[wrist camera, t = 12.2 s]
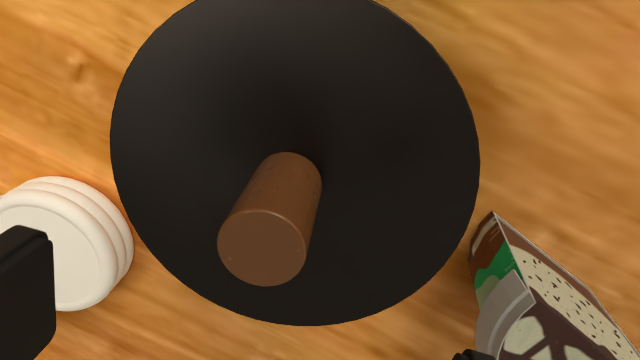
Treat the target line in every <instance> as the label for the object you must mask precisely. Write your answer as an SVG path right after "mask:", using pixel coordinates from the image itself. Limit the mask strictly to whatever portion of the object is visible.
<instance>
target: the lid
mask: <svg viewBox="0 0 640 360" xmlns="http://www.w3.org/2000/svg"><path fill="white" fill-rule="evenodd" d="M110 154H111V163H112V169H113V175H114V180H115V183H116V187H117V190H118V193H119V196H120V200H121V202H122V204H123V207H124V209H125V211H126V213H127V215H128V218H129V220H130V222H131V223H132V225H133V227H134V228H135V230H136V232H137V233H138V235H139V237H140V238H141V240H142V241H143V242H144V244H145V245H146V246H147V248H148V249H149V250H150V252H151V253H152V254H153V255H154V256H155V257H156V259H157V260H158V261H159V262H160V263H161V264H162V265H163V266H164V267H165V268H166V269H167V270H168V271H169V272H170V273H171V274H173V275H174V276H175V277H176V278H177V279H178V280H180V281H181V282H182V283H183V284H184V285H186V286H187V287H189V288H190V289H192V290H193V291H195V292H196V293H197V294H199V295H200V296H202V297H204V298H206V299H208V300H209V301H211V302H213V303H215V304H217V305H219V306H221V307H223V308H226V309H228V310H230V311H233V312H235V313H237V314H240V315H244V316H247V317H250V318H253V319H256V320H261V321H265V322H270V323H275V324H283V325H292V326H323V325H332V324H340V323H345V322H349V321H354V320H358V319H361V318H364V317H367V316H370V315H373V314H376V313H379V312H381V311H383V310H385V309H387V308H389V307H392V306H394V305H396V304H397V303H399V302H401V301H402V300H404V299H405V298H407V297H409V296H410V295H412V294H413V293H415V292H416V291H417V290H418V289H420V288H421V287H422V286H423V285H425V284H426V283H427V282H428V281H429V280H430V279H431V278H432V277H433V276H434V275H435V274H436V273H437V272H438V271H439V270H440V269H441V268H442V267H443V266H444V264H445V263H446V262H447V260H448V259H449V258H450V256H451V255H452V253H453V252H454V251H455V249H456V248H457V246H458V244H459V242H460V240H461V238H462V237H463V235H464V233H465V231H466V229H467V226H468V224H469V221H470V218H471V216H472V213H473V210H474V207H475V202H476V197H477V193H478V188H479V176H480V153H479V142H478V135H477V131H476V127H475V123H474V119H473V114H472V112H471V109H470V107H469V104H468V102H467V99H466V97H465V94H464V92H463V89H462V88H461V86H460V84H459V83H458V81H457V79H456V77H455V76H454V74H453V72H452V70H451V69H450V67H449V66H448V64H447V63H446V62H445V61H444V59H443V58H442V57H441V56H440V54H439V53H438V52H437V50H436V49H435V48H434V47H433V45H432V44H431V43H430V42H428V41H427V40H426V39H425V38H424V37H423V36H422V35H421V34H420V33H419V32H418V31H417V30H416V29H415V28H414V27H413V26H412V25H410V24H409V23H408V22H406V21H405V20H403V19H402V18H400V17H399V16H398V15H396V14H395V13H393V12H392V11H391V10H389V9H388V8H386V7H384V6H382V5H380V4H378V3H376V2H374V1H372V0H195V1H194V2H192V3H190V4H189V5H187V6H186V7H184V8H182V9H181V10H179V11H178V12H176V13H174V14H173V15H172V16H171V17H170V18H169V19H167V20H166V21H165V22H164V23H163V24H162V25H161V26H159V27H158V28H157V29H156V30H155V31H154V32H153V33H152V34H151V36H150V37H149V38H148V39H147V40H146V42H145V43H144V44H143V45H142V46H141V48H140V49H139V50H138V52H137V53H136V55H135V57H134V58H133V60H132V62H131V63H130V65H129V67H128V68H127V70H126V73H125V75H124V77H123V80H122V82H121V85H120V87H119V89H118V92H117V96H116V100H115V104H114V108H113V112H112V119H111V129H110Z"/></svg>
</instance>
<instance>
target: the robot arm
mask: <svg viewBox="0 0 640 360" xmlns="http://www.w3.org/2000/svg"><path fill="white" fill-rule="evenodd" d="M55 331H56V306H55V280H54V255H53V243H52V241H51V240H48V235H47V234H46V232H43V231H40V230H37V229H33V228H30V227H26V226H22V225H15V226H13V227H11V228H9V229H7V230H6V231H4V232H3V233H1V234H0V360H34V359H35V358H36V357H37V355H38V354H39V353H40V352H41V351H42V350H43V349H44V348H45V347H46V346H47V345H48V344H49V342H50V341H51V339H52V338H53V336H54V334H55ZM452 360H496V359H495V357H494V356H492V355H489V354H485V353H482V352H478V351H474V350H471V349H466V350H464V352H463V353H462V354H460V353H456V354H455V355H454V357H453V359H452Z"/></svg>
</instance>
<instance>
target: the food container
mask: <svg viewBox="0 0 640 360" xmlns="http://www.w3.org/2000/svg"><path fill="white" fill-rule="evenodd" d="M468 260H469V265H470V269H471V274H472V279H473V283H474V288H475V292H476V297H477V301H478V306H479V311H480V314H479V317H478V320H477V323H476V330H475V347H476V351H478V352H482V353H485V354H489V355H492V356H494V357H495V359H496V360H640V354H639V352H638V351H637V350H636V348H635V347H634V346H633V345H632V343H631V342H630V341H629V339H628V338H627V337H626V336H625V334H624V333H623V332H622V330H621V329H620V328H619V327H618V325H617V324H616V323H615V321H614V320H613V319H612V318H611V316H610V315H609V314H608V312H607V311H606V310H605V309H604V307H603V306H602V305H601V303H600V302H599V301H598V300H597V298H596V297H595V296H594V294H593V293H592V292H591V291H590V289H589V288H588V287H587V286H586V285H585V284H584V283H582V282H581V281H580V280H579V279H577V278H576V277H575V276H574V275H572V274H571V273H570V272H569V271H567V270H566V269H565V268H563V267H562V266H561V265H560V264H558V263H557V262H556V261H555V260H553V259H552V258H551V257H550V256H548V255H547V254H546V253H545V252H543V251H542V250H541V249H540V248H538V247H537V246H536V245H535V244H533V243H532V242H531V241H530V240H528V239H527V238H526V237H525V236H523V235H522V234H521V233H520V232H518V231H517V230H516V229H515V228H513V227H512V226H511V225H510V224H508V223H507V222H506V221H505V220H503V219H502V218H501V217H500V216H498V215H497V214H496V213H495V212H493V211H491V213H490V214H489V215H488V216H487V217H486V218H485V219H484V220H483V221H482V222H481V223H480V225H479V227H478V229H477V230H476V232H475V234H474V236H473V238H472V240H471V244H470V251H469V258H468Z"/></svg>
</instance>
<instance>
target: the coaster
mask: <svg viewBox="0 0 640 360" xmlns="http://www.w3.org/2000/svg"><path fill="white" fill-rule="evenodd" d="M15 225H22V226H26V227H30V228H33V229H37V230H40V231H43V232H46V234H47V235H48V240H51V241H52V243H53V255H54V280H55V306H56V310H57V311H78V310H83V309H86V308H89V307H91V306H93V305H95V304H97V303H99V302H100V301H102V300H103V299H104V298H105V297H106V296H107V295H108V294H109V293H110V292H111V290H112V289H113V288H114V287H115V286H116V285H117V284H118V282H119V281H120V280H121V279H122V278H123V276H124V275H125V274H126V273H127V271H128V270H129V267H130V265H131V262H132V259H133V254H134V243H133V237H132V233H131V231H130V228H129V226H128V224H127V222H126V220H125V218H124V217H123V215H122V214H121V212H120V211H119V210H118V208H117V207H116V206H115V205H114V204H113V203H112V202H111V201H110V200H109V199H108V198H107V197H106V196H104V195H103V194H102V193H101V192H99V191H98V190H96V189H95V188H93V187H91V186H89V185H87V184H85V183H83V182H80V181H78V180H74V179H71V178H67V177H61V176H46V177H39V178H35V179H31V180H29V181H27V182H24V183H23V184H21V185H20V186H18V187H16V188H14V189H12V190H10V191H9V192H7V193H6V194H4V195H1V196H0V234H1V233H3V232H4V231H6V230H7V229H9V228H11V227H13V226H15Z"/></svg>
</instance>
